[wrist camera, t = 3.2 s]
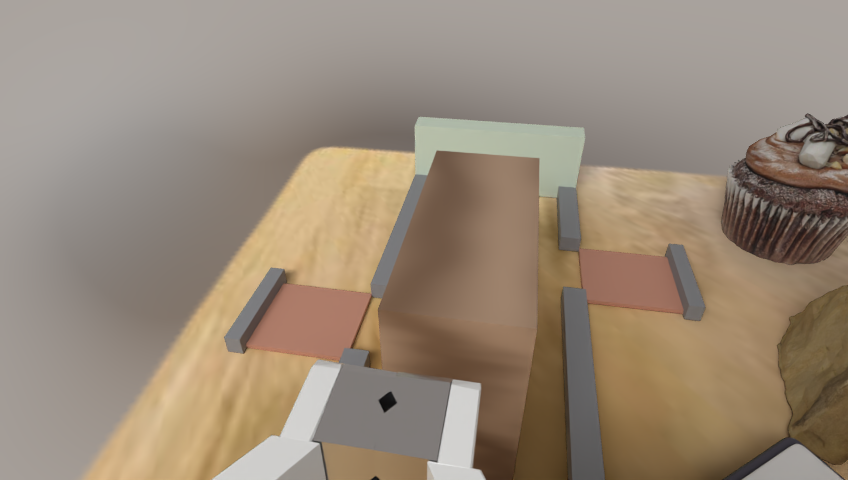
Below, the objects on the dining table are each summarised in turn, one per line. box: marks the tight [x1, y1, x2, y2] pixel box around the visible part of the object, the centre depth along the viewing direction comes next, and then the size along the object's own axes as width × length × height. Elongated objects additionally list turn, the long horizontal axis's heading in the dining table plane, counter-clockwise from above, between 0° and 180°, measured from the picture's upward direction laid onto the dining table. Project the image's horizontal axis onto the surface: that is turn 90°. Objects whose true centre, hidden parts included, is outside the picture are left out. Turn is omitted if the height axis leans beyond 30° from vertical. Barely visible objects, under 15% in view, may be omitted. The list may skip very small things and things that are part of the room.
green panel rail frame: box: [224, 117, 706, 480], centre depth 36 cm, size 30×33×6 cm
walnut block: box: [378, 150, 540, 480], centre depth 29 cm, size 6×14×11 cm, turn 170°
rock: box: [777, 285, 848, 465], centre depth 29 cm, size 11×9×10 cm
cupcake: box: [721, 114, 848, 265], centre depth 40 cm, size 10×10×10 cm
